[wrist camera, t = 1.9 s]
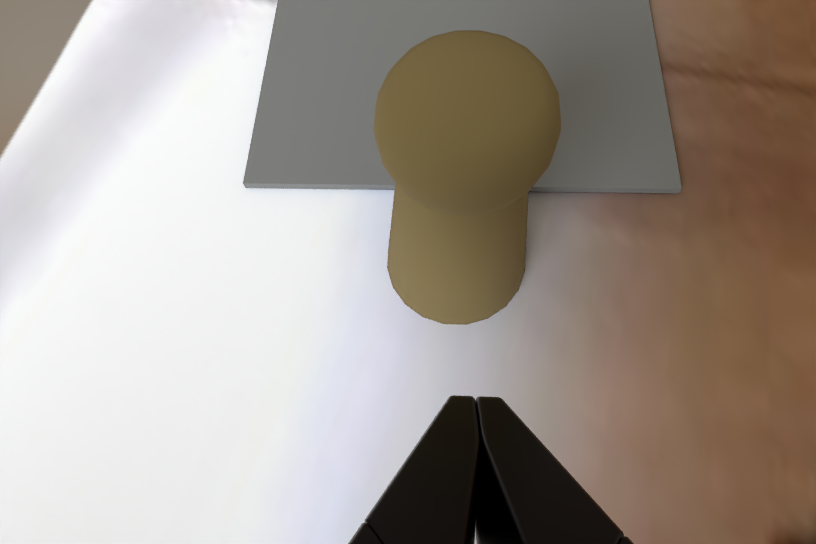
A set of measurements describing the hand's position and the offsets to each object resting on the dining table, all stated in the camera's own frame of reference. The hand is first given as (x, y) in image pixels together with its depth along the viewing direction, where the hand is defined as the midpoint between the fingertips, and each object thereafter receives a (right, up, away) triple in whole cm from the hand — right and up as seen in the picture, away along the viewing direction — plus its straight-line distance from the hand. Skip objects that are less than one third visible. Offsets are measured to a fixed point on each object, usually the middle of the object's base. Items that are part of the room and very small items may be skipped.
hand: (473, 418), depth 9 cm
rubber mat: (+2, +14, +19) cm, 24 cm away
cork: (+1, +3, +15) cm, 15 cm away
